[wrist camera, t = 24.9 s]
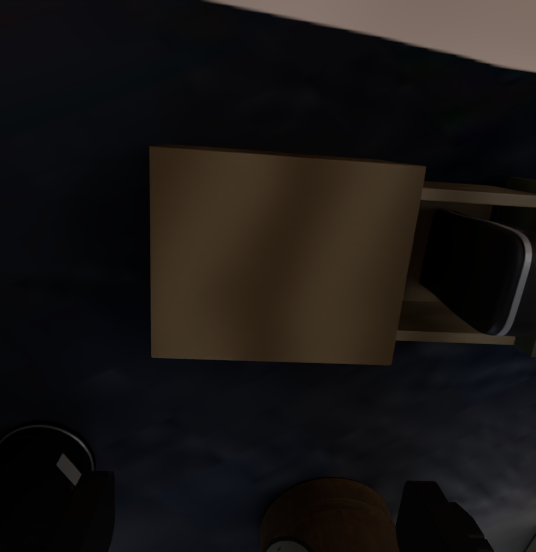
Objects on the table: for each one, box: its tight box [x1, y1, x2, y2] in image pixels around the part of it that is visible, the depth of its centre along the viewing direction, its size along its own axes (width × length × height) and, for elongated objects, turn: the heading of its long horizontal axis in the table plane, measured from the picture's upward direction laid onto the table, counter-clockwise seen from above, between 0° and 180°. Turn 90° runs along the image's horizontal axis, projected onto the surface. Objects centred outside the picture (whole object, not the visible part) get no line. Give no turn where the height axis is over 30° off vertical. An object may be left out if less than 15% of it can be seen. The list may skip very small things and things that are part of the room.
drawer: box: [396, 177, 536, 357], centre depth 34 cm, size 22×13×8 cm, turn 86°
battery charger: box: [419, 209, 536, 337], centre depth 31 cm, size 7×4×11 cm, turn 174°
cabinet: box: [149, 144, 426, 365], centre depth 32 cm, size 17×14×10 cm
